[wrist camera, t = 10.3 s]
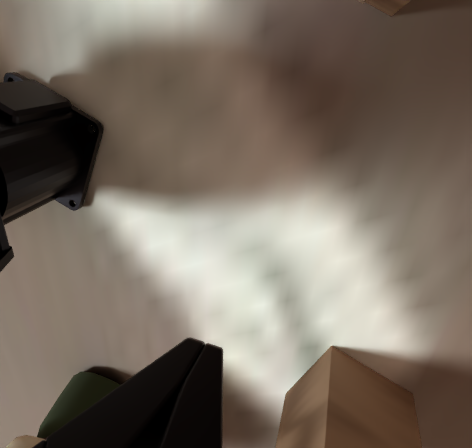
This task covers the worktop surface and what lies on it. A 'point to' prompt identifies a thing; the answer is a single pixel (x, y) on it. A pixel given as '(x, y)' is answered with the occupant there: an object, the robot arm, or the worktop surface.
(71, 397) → the character mug
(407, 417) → the numbered block
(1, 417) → the worktop surface
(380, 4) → the numbered block
